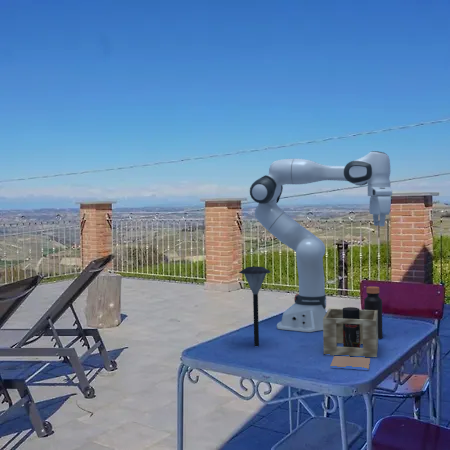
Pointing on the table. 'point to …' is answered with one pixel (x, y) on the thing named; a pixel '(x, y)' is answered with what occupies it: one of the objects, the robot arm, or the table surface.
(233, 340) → the table surface
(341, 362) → the tile
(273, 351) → the table surface
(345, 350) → the crate
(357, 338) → the deodorant
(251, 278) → the solar garden light
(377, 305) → the bottle
